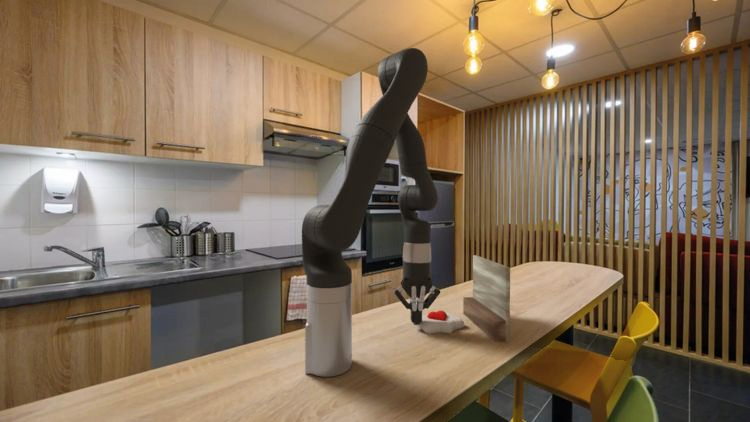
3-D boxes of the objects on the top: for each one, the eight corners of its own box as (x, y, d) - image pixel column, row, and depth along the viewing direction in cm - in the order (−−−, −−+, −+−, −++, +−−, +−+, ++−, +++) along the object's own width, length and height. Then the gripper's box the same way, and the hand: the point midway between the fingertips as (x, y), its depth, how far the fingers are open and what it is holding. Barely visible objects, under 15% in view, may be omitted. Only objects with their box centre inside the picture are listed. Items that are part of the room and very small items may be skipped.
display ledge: (494, 341, 76) (494, 268, 76) (463, 313, 96) (463, 255, 96) (509, 340, 77) (510, 267, 76) (475, 313, 97) (476, 255, 96)
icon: (431, 322, 79) (411, 310, 88) (431, 339, 79) (411, 325, 88) (470, 316, 83) (448, 305, 93) (470, 332, 83) (448, 319, 93)
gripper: (394, 261, 79) (394, 330, 79) (445, 261, 80) (444, 328, 80) (390, 257, 86) (389, 319, 87) (436, 256, 88) (436, 318, 88)
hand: (416, 323), depth 83 cm, fingers closed
